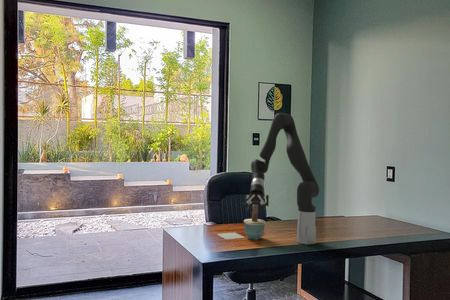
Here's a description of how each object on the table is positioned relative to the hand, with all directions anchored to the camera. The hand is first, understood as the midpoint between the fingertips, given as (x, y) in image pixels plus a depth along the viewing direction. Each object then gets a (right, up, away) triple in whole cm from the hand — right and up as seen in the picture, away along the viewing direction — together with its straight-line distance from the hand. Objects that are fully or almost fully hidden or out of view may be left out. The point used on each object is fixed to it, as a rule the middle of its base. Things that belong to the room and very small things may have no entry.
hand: (254, 210), depth 210 cm
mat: (-13, -15, +5) cm, 21 cm away
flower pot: (0, -16, +2) cm, 16 cm away
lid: (0, -7, +1) cm, 7 cm away
